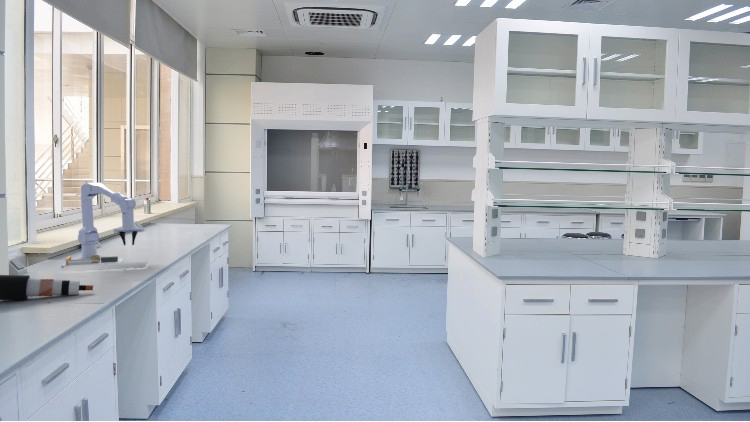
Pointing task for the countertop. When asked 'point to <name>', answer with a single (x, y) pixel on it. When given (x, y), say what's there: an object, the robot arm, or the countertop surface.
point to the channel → (84, 261)
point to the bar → (109, 259)
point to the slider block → (95, 258)
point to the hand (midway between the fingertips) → (128, 244)
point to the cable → (37, 287)
